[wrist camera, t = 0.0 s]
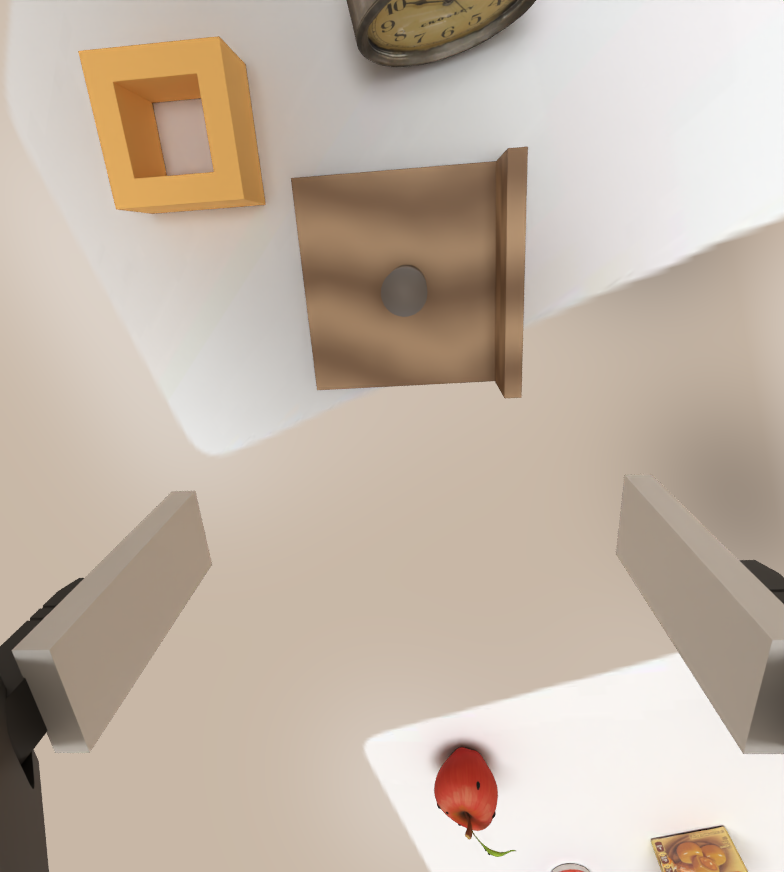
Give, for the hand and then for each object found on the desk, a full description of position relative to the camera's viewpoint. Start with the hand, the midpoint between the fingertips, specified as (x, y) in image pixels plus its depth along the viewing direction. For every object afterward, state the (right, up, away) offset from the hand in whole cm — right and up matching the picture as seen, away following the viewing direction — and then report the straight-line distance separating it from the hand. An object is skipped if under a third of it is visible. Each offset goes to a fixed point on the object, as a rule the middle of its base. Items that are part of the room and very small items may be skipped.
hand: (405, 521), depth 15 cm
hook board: (+1, +15, +24) cm, 28 cm away
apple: (+8, -34, +43) cm, 56 cm away
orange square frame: (-15, +24, +22) cm, 36 cm away
